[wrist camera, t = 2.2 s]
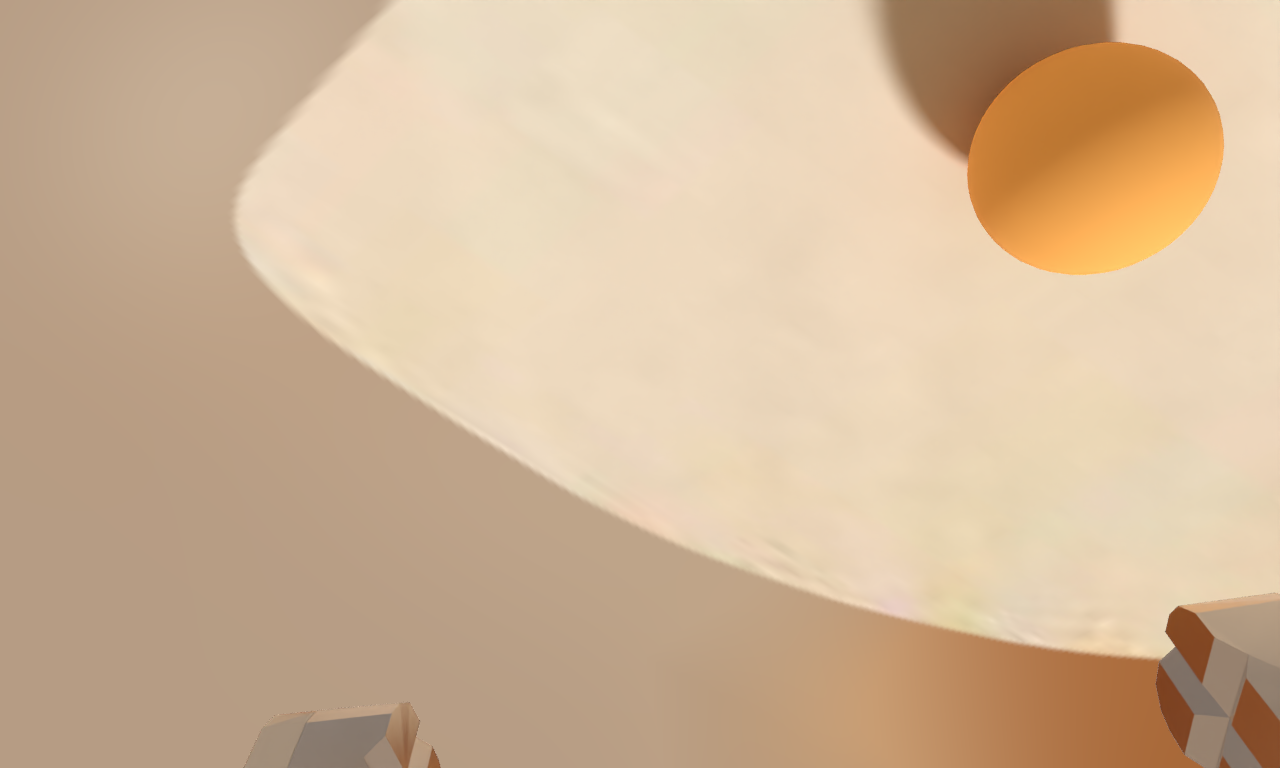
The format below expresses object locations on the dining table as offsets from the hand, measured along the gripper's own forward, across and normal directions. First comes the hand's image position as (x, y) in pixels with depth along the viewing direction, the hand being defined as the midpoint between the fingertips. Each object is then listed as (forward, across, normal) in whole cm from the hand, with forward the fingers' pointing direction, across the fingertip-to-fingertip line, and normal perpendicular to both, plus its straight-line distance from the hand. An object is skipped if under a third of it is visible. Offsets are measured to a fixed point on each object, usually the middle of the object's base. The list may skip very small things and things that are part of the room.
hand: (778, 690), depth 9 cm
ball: (+14, -10, 0) cm, 17 cm away
